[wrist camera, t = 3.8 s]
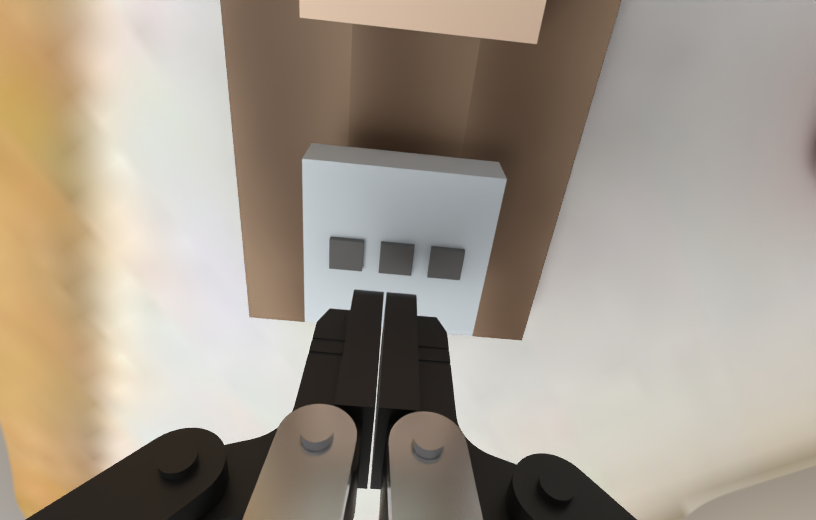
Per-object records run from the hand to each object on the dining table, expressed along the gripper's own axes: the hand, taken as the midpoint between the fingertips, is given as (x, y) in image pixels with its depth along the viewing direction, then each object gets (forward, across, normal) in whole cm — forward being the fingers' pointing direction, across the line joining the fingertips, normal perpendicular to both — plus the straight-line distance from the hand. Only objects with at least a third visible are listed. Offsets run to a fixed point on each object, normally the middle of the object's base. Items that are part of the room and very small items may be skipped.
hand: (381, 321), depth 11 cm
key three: (+7, 0, 0) cm, 7 cm away
